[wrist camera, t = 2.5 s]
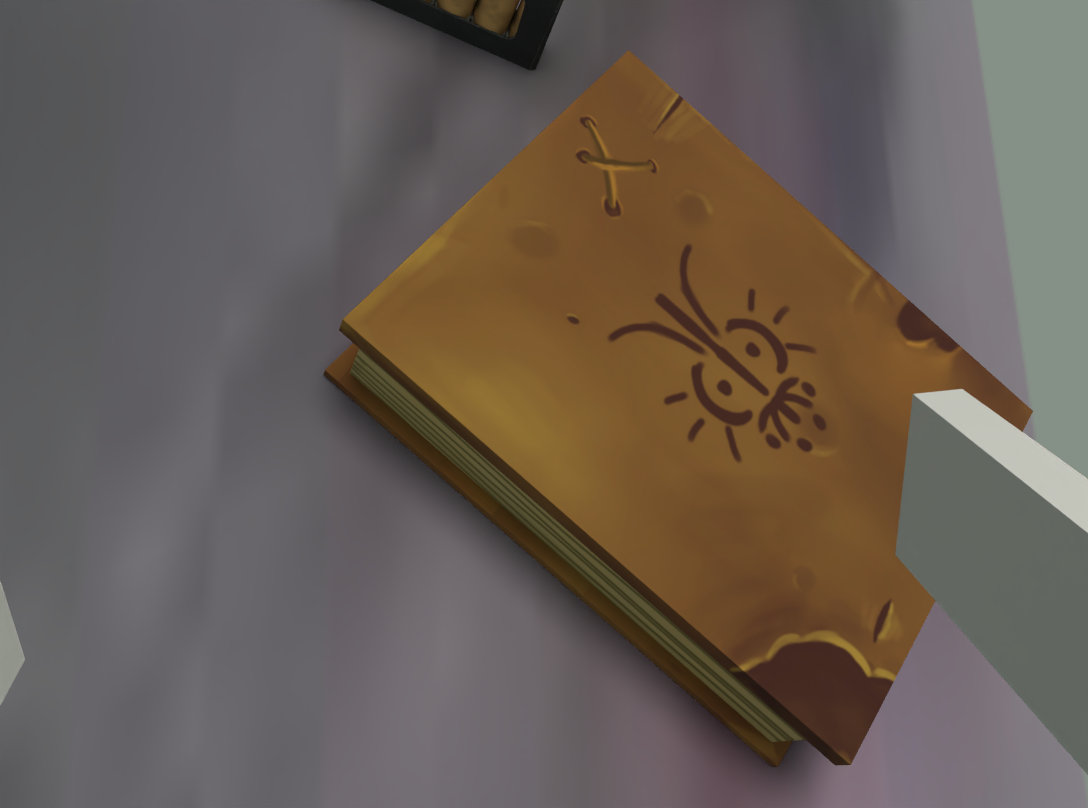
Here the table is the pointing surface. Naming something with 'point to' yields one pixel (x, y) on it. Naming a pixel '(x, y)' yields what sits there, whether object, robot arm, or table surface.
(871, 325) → the diary
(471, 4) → the ammunition clip
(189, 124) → the table surface
